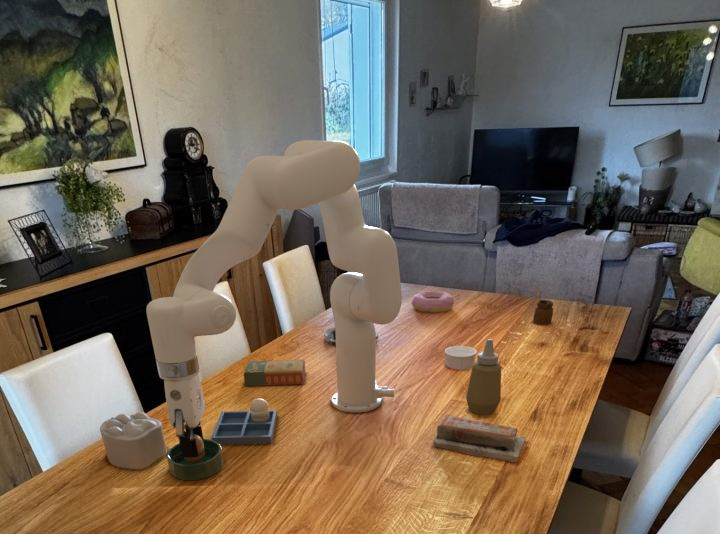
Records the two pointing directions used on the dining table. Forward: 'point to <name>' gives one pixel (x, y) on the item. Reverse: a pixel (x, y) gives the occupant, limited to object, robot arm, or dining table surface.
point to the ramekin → (460, 357)
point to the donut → (432, 301)
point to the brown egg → (200, 451)
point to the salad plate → (333, 336)
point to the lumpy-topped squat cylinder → (133, 440)
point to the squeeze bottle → (485, 382)
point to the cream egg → (259, 410)
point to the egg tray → (243, 428)
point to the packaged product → (479, 438)
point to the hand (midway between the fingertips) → (193, 449)
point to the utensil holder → (543, 311)
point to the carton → (274, 372)
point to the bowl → (202, 470)
